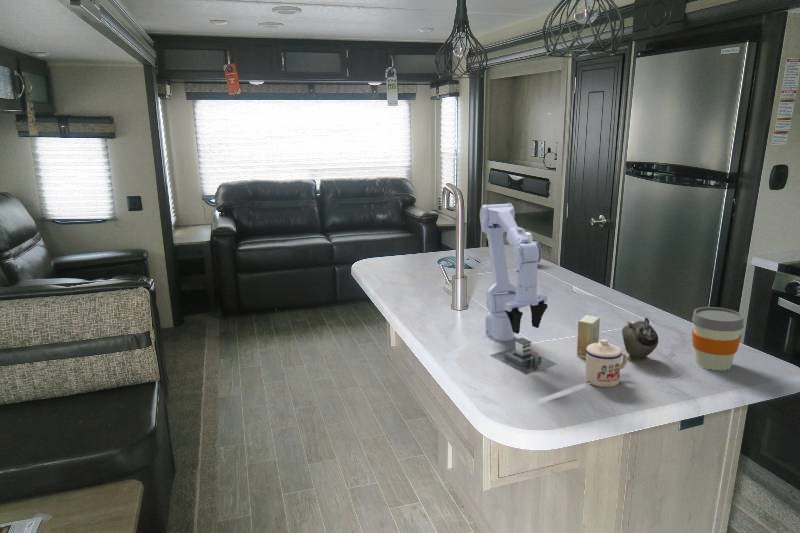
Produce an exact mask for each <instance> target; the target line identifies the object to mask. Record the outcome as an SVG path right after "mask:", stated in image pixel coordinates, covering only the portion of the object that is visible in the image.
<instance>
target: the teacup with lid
mask: <svg viewBox="0 0 800 533" xmlns="http://www.w3.org/2000/svg"><path fill="white" fill-rule="evenodd" d="M586 352H587V354H586V358H585V378H586V379H587V380H586V381H587V383H589V384H591V385H593V386H596V387H601V388H612V387H616V386H617V385H618V384H619V383H620V373H621V370H622V369H623V368H625V367H626V366H627V363H628V360H627V357H628V355H627V353H625V352H624V351H622V350H621V348H620V347H618V346H617V345H615V344H612V343H610V342H609V340H608V339H605V338H603V339H600V341H599V342H598V343H593V344H590V345H588V346H587V348H586ZM621 356H622V357H621Z"/></svg>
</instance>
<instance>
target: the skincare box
mask: <svg viewBox="0 0 800 533" xmlns="http://www.w3.org/2000/svg"><path fill="white" fill-rule="evenodd" d="M577 321H578V322H577V342H576V343H577V345H576V346H577V347H576V357H578V358H579V357H580V358H582V359H586V354H587V352H586V348H587V346H588V345H590V344H593V343H598V342H600V341H599V340H600V326H601V325H600V321H601V317H599V316H594V315H589V314H586V315H584V316H582V317H581V318H580V319H579V320H577Z"/></svg>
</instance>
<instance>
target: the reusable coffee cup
mask: <svg viewBox="0 0 800 533" xmlns="http://www.w3.org/2000/svg"><path fill="white" fill-rule="evenodd" d="M692 314H693V315H692V318H691V322H692V326H693V327H692V329H691V338H692V347H693V348H694V363H695V362H696V363H697V364H698V365H700V366H701V368H702V367H704V368H703V369H705V368H708V369H707V370H709V369H712V370H711V371H715V370H724V371H727V370H726V369H728V370H730V369H731V368H730V367H732V364H733V361H734V356H735V354H736V353H737V352H738V349H739V345H740V343H741V342H740V341H741V339H742V335H741V333H742V329H744V315H743V314H742V313H741V312H738V311H736V310H733V309H729V308H724V307H714V306H704V307H703V306H702V307H698V308H694V310H693V313H692ZM696 363H695V364H696ZM697 364H696V365H697ZM698 365H697V366H698ZM700 366H699V367H700ZM729 368H730V369H729Z"/></svg>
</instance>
